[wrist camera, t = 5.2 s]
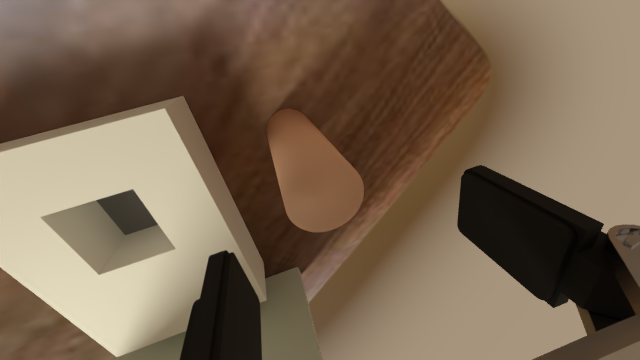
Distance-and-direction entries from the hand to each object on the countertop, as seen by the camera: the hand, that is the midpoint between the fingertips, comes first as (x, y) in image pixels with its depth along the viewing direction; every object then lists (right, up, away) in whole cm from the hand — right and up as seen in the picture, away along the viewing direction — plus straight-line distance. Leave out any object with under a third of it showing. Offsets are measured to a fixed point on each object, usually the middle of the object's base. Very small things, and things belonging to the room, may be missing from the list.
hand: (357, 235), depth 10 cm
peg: (-4, +7, +12) cm, 15 cm away
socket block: (-17, -1, +13) cm, 21 cm away
